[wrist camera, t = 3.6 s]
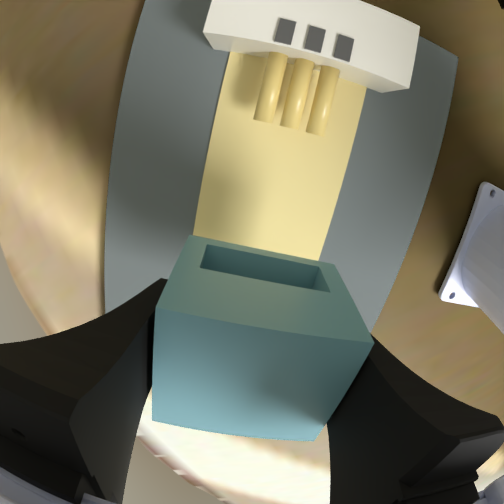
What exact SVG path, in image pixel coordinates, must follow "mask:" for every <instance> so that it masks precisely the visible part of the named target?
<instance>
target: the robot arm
mask: <svg viewBox="0 0 504 504" xmlns="http://www.w3.org/2000/svg"><path fill="white" fill-rule="evenodd" d="M491 190H492V193H491V195H490V191H491ZM167 281H168V279H164V278H160V279H159V280H157V281H155V282H154V283H153V284H151V285H150V286H148V287H147V288H146V289H144V290H143V291H141V292H140V293H138V294H137V295H135V296H134V297H132V298H131V299H129V300H128V301H126V302H125V303H123V304H122V305H120V306H118V307H117V308H115V309H113V310H111V311H110V312H108V313H106V314H104V315H102V316H100V317H98V318H96V319H94V320H92V321H89V322H87V323H85V324H82V325H80V326H77V327H74V328H71V329H68V330H65V331H62V332H60V333H57V334H53V335H49V336H45V337H41V338H37V339H32V340H27V341H21V342H14V343H5V344H0V504H122V500H123V494H124V489H125V483H126V477H127V473H128V468H129V463H130V459H131V454H132V450H133V445H134V441H135V437H136V433H137V429H138V425H139V422H140V418H141V414H142V411H143V407H144V405H145V402H146V399H147V396H148V394H149V392H150V389H151V387H152V374H153V345H154V326H155V310H156V305H157V303H158V301H159V299H160V296H161V294H162V292H163V290H164V287H165V285H166V283H167ZM451 293H452V294H451ZM450 294H451V295H450ZM438 295H439V298H440V299H441V300H442V301H446V302H452V303H457V304H462V305H468V306H473V307H479V308H480V309H481V310H482V311H483V312H484V313H485V314H486V315H487V316H488V317H489V318H490V319H491V321H492V322H493V323H494V324H495V325H496V326H497V327H498V328H499V329H500V331H501V332H502V333H503V334H504V191H503V190H501V189H500V188H498V187H496V186H494V185H492V184H490V183H488V182H482V183H481V184H480V187H479V190H478V193H477V196H476V199H475V202H474V205H473V208H472V211H471V214H470V217H469V220H468V223H467V226H466V228H465V231H464V234H463V236H462V239H461V242H460V244H459V247H458V249H457V252H456V254H455V256H454V259H453V261H452V264H451V266H450V268H449V271H448V273H447V275H446V277H445V279H444V282H443V284H442V286H441V288H440V290H439V293H438ZM449 295H450V296H449ZM370 335H371V334H370ZM371 337H372V339H373V341H374V345H373V347H372V348H371V350H370V352H369V354H368V356H367V358H366V359H365V361H364V363H363V365H362V366H361V368H360V370H359V372H358V373H357V375H356V377H355V378H354V380H353V382H352V383H351V385H350V387H349V388H348V390H347V392H346V393H345V395H344V397H343V398H342V400H341V401H340V403H339V405H338V406H337V408H336V409H335V411H334V412H333V414H332V415H331V417H330V418H329V420H328V421H327V428H328V435H329V448H330V472H331V484H330V504H504V475H503V476H501V477H499V478H498V479H496V480H495V481H493V482H492V483H491V484H489V485H488V486H487V487H486V488H485V489H484V490H483V491H480V492H477V489H476V487H475V484H474V481H476V480H477V479H478V477H479V476H478V474H477V472H476V470H477V469H478V468H479V467H480V466H481V465H482V464H483V463H484V462H486V461H487V460H488V459H489V458H490V457H491V456H492V455H493V454H494V453H495V452H496V451H497V450H498V449H499V448H500V446H501V445H502V444H503V442H504V426H503V424H502V423H501V421H500V419H499V418H498V417H497V416H496V415H493V414H490V413H487V412H485V411H482V410H479V409H476V408H474V407H471V406H469V405H467V404H465V403H463V402H461V401H459V400H457V399H455V398H453V397H451V396H449V395H447V394H446V393H444V392H442V391H441V390H439V389H437V388H436V387H434V386H432V385H431V384H429V383H428V382H426V381H425V380H423V379H422V378H421V377H419V376H418V375H417V374H415V373H414V372H413V371H411V370H410V369H409V368H408V367H406V366H405V365H404V364H403V363H402V362H400V361H399V360H398V359H397V358H396V357H395V356H393V355H392V354H391V353H390V352H389V351H388V350H387V349H386V348H385V347H384V346H383V345H382V344H381V343H380V342H379V341H378V340H376V339H375V338H374V337H373V336H372V335H371Z"/></svg>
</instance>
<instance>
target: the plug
mask: <svg viewBox="0 0 504 504" xmlns="http://www.w3.org/2000/svg"><path fill="white" fill-rule="evenodd" d="M373 345H374V341H373V339H372V337H371V335H370V333H369V331H368V329H367V327H366V325H365V323H364V321H363V319H362V317H361V315H360V313H359V311H358V309H357V307H356V305H355V303H354V301H353V299H352V297H351V295H350V293H349V291H348V289H347V287H346V286H345V284H344V282H343V280H342V278H341V276H340V274H339V272H338V270H337V269H336V267H335V265H334V264H331V263H326V262H321V261H316V260H311V259H307V258H302V257H297V256H292V255H287V254H282V253H277V252H272V251H267V250H262V249H258V248H253V247H248V246H243V245H238V244H233V243H228V242H223V241H218V240H213V239H208V238H203V237H198V236H193V235H189V236H188V239H187V241H186V243H185V245H184V247H183V249H182V251H181V253H180V255H179V257H178V259H177V262H176V264H175V266H174V268H173V270H172V272H171V274H170V277H169V279H168V281H167V283H166V285H165V287H164V290H163V292H162V294H161V296H160V299H159V301H158V303H157V305H156V310H155V326H154V345H153V374H152V420H153V421H157V422H161V423H166V424H171V425H175V426H180V427H185V428H191V429H196V430H202V431H208V432H214V433H221V434H228V435H236V436H245V437H254V438H265V439H277V440H294V441H314V440H315V439H316V437H317V436H318V435H319V433H320V432H321V430H322V429H323V427H324V426H325V424H326V423H327V421H328V420H329V418H330V417H331V415H332V414H333V412H334V411H335V409H336V408H337V406H338V405H339V403H340V401H341V400H342V398H343V397H344V395H345V393H346V392H347V390H348V388H349V387H350V385H351V383H352V382H353V380H354V378H355V377H356V375H357V373H358V372H359V370H360V368H361V366H362V365H363V363H364V361H365V359H366V358H367V356H368V354H369V352H370V350H371V348H372V347H373Z"/></svg>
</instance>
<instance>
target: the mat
mask: <svg viewBox="0 0 504 504" xmlns="http://www.w3.org/2000/svg"><path fill="white" fill-rule="evenodd" d="M211 2H212V0H145V3H144V7H143V10H142V13H141V16H140V20H139V23H138V26H137V30H136V33H135V37H134V41H133V45H132V48H131V52H130V56H129V61H128V65H127V69H126V74H125V78H124V83H123V88H122V93H121V98H120V103H119V109H118V115H117V121H116V127H115V133H114V140H113V148H112V156H111V164H110V173H109V183H108V195H107V209H106V227H105V264H104V277H105V314H106V313H108V312H110V311H111V310H113V309H115V308H117V307H118V306H120V305H122V304H123V303H125V302H126V301H128V300H129V299H131V298H132V297H134V296H135V295H137V294H138V293H140V292H141V291H143V290H144V289H146V288H147V287H148V286H150V285H151V284H153V283H154V282H155V281H157V280H159V279H160V278H164V279H169V277H170V274H171V272H172V270H173V268H174V266H175V264H176V262H177V259H178V257H179V255H180V253H181V251H182V249H183V247H184V245H185V243H186V241H187V239H188V236H189V235H193V236H198V237H203V238H208V239H213V240H218V241H223V242H228V243H233V244H238V245H243V246H248V247H253V248H258V249H262V250H267V251H272V252H277V253H282V254H287V255H292V256H297V257H302V258H307V259H311V260H316V261H321V262H326V263H331V264H334V265H335V267H336V269H337V270H338V272H339V274H340V276H341V278H342V280H343V282H344V284H345V286H346V287H347V289H348V291H349V293H350V295H351V297H352V299H353V301H354V303H355V305H356V307H357V309H358V311H359V313H360V315H361V317H362V319H363V321H364V323H365V325H366V327H367V329H368V331H369V333H371V331H372V329H373V327H374V325H375V323H376V321H377V319H378V316H379V314H380V312H381V310H382V308H383V306H384V304H385V301H386V299H387V297H388V295H389V293H390V290H391V288H392V286H393V283H394V281H395V279H396V276H397V274H398V272H399V269H400V267H401V264H402V262H403V260H404V257H405V254H406V252H407V249H408V247H409V244H410V242H411V239H412V236H413V234H414V231H415V228H416V225H417V222H418V220H419V217H420V214H421V211H422V208H423V205H424V202H425V199H426V196H427V193H428V189H429V186H430V183H431V180H432V176H433V173H434V169H435V166H436V162H437V159H438V155H439V151H440V147H441V144H442V140H443V136H444V131H445V127H446V123H447V118H448V114H449V109H450V104H451V99H452V94H453V88H454V82H455V76H456V70H457V63H458V57H457V56H456V55H454V54H452V53H450V52H449V51H447V50H445V49H443V48H442V47H440V46H438V45H436V44H434V43H432V42H430V41H429V40H427V39H425V38H423V37H421V36H419V37H418V43H417V50H416V55H415V61H414V66H413V72H412V77H411V82H410V87H409V89H402V90H396V91H390V92H384V93H380V92H377V91H375V90H372V89H369V88H367V87H365V86H362V85H359V84H357V83H354V82H351V81H348V80H345V79H342V78H339V79H338V83H337V87H336V91H335V96H334V100H333V104H332V108H331V112H330V116H329V120H328V124H327V128H326V132H325V136H324V137H321V136H318V135H314V134H310V133H307V132H306V128H307V124H308V120H309V116H310V112H311V107H312V103H313V99H314V95H315V91H316V87H317V83H318V78H319V74H320V72H319V71H316V70H313V73H312V77H311V81H310V85H309V90H308V94H307V98H306V102H305V106H304V110H303V114H302V118H301V123H300V127H299V130H295V129H291V128H287V127H283V126H279V125H280V121H281V117H282V113H283V109H284V105H285V101H286V96H287V92H288V88H289V84H290V80H291V76H292V72H293V67H294V65H293V64H289V63H287V65H286V69H285V73H284V77H283V81H282V85H281V90H280V94H279V98H278V102H277V106H276V110H275V115H274V119H273V123H272V124H271V123H266V122H262V121H257V120H253V117H254V113H255V109H256V104H257V100H258V96H259V92H260V88H261V83H262V79H263V75H264V71H265V67H266V63H267V59H268V58H263V57H258V56H253V55H248V54H242V53H236V52H228V51H221V50H214V49H213V48H212V46H211V45H210V43H209V41H208V40H207V38H206V37H205V35H204V33H203V29H204V26H205V22H206V19H207V15H208V12H209V8H210V5H211Z"/></svg>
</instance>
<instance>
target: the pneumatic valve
mask: <svg viewBox="0 0 504 504" xmlns="http://www.w3.org/2000/svg"><path fill="white" fill-rule="evenodd" d="M498 2H499V4H500V6H501V9H504V0H498Z"/></svg>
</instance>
